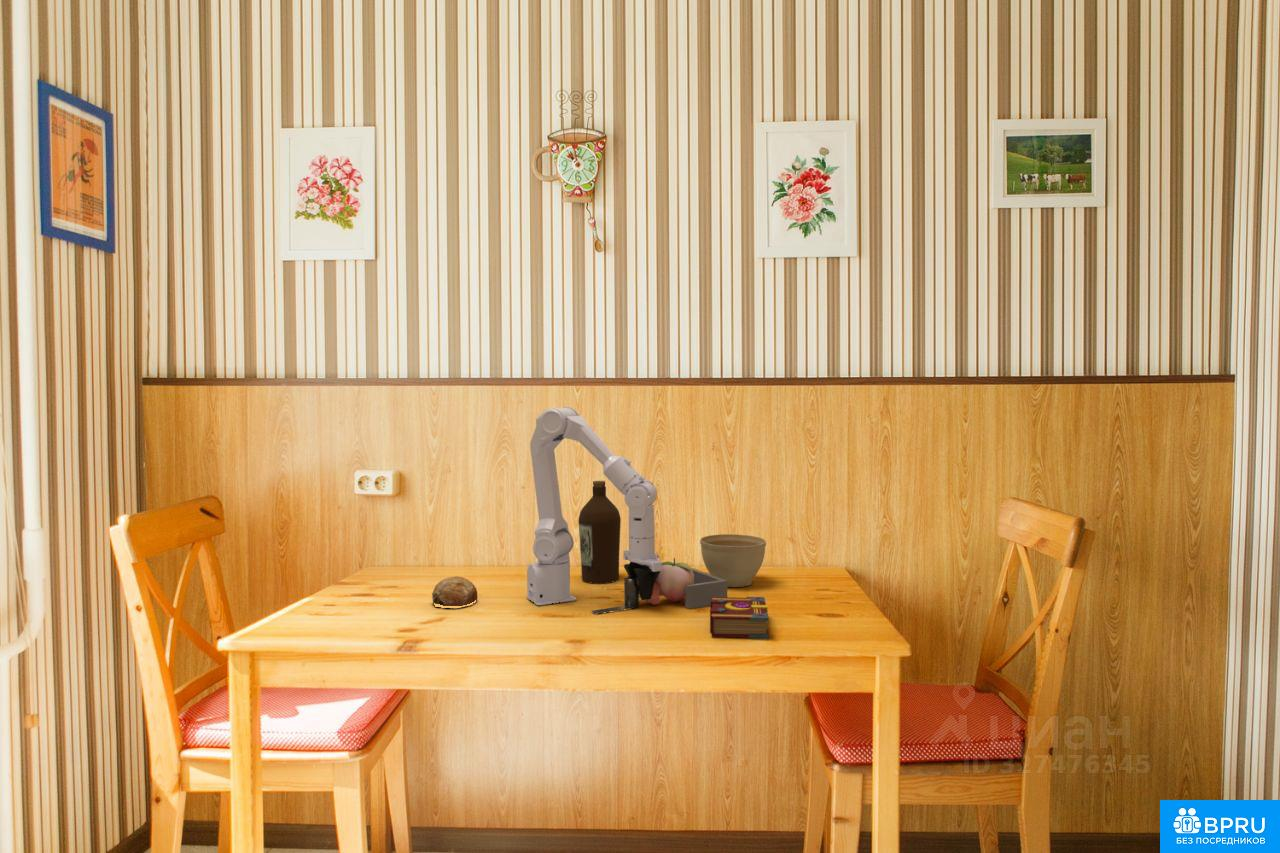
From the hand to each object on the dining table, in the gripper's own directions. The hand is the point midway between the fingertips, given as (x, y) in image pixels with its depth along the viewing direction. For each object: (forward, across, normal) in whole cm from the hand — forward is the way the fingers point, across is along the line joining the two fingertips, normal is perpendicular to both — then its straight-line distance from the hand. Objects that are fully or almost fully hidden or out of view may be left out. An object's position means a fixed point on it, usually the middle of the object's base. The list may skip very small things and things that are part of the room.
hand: (642, 597), depth 172 cm
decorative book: (+2, -22, -10) cm, 25 cm away
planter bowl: (+2, +7, -29) cm, 30 cm away
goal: (+2, 0, -12) cm, 12 cm away
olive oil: (+2, +27, -2) cm, 27 cm away
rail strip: (+2, 0, +8) cm, 8 cm away
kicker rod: (+1, 0, 0) cm, 1 cm away
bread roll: (+2, +23, +36) cm, 43 cm away
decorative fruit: (+2, 0, -8) cm, 8 cm away
